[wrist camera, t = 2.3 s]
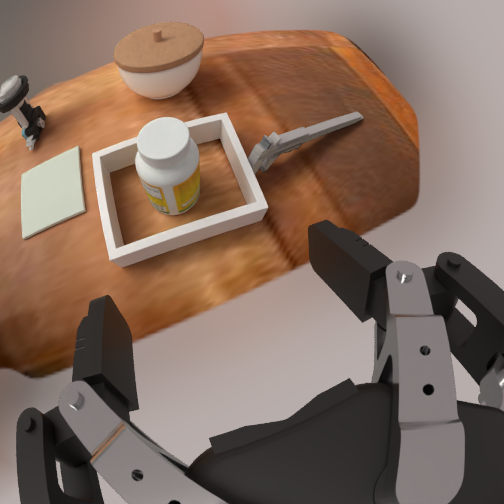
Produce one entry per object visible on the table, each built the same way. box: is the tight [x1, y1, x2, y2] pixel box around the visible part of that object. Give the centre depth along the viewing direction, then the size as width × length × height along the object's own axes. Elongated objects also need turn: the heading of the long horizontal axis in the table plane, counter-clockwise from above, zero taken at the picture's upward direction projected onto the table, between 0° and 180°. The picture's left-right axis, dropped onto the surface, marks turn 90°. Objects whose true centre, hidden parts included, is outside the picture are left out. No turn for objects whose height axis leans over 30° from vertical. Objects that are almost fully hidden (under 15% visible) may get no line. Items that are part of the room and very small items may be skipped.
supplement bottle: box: [135, 117, 200, 215], centre depth 23 cm, size 5×5×10 cm
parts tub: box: [92, 113, 268, 268], centre depth 26 cm, size 12×15×4 cm
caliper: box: [248, 112, 364, 175], centre depth 29 cm, size 20×1×6 cm, turn 127°
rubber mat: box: [21, 146, 86, 239], centre depth 25 cm, size 9×9×1 cm
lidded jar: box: [114, 22, 204, 100], centre depth 26 cm, size 11×11×9 cm
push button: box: [0, 76, 46, 150], centre depth 22 cm, size 7×5×10 cm
